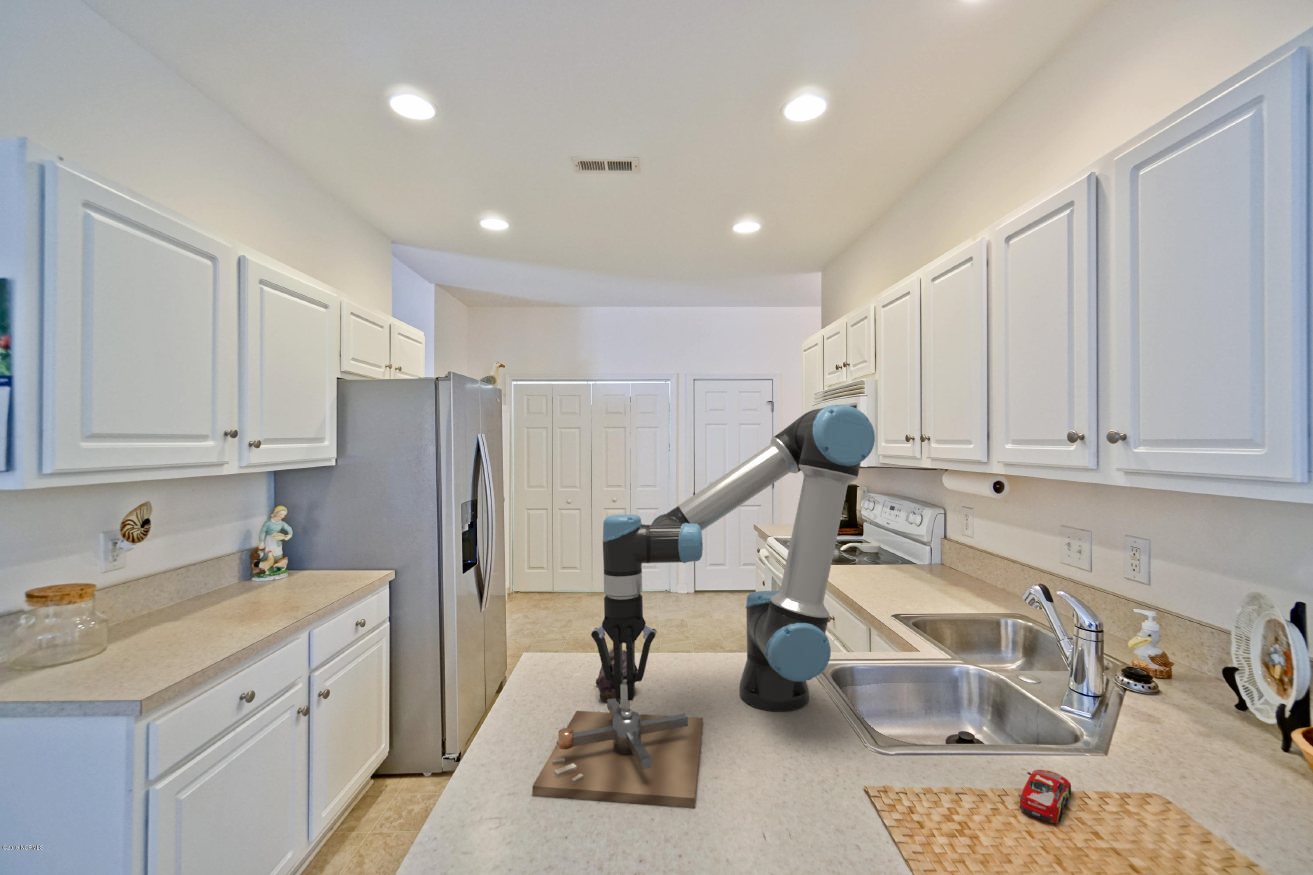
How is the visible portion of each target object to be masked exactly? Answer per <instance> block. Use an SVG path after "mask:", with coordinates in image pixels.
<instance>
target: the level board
mask: <svg viewBox="0 0 1313 875" xmlns="http://www.w3.org/2000/svg"><path fill="white" fill-rule="evenodd" d="M639 714H640V716H641V721H644V720H650V719H656V718H662V717H668V716H669V715H661V714H660V715H659V714H658V715H657V714H641V713H639ZM687 717H688V726H686V727H680V728H675V729H669V730H663V731H658V732H652V733H647V734H641V742H642V744H643V745H644V747H645V749H646V750H647V752H648V753H649V755H650V757H651V768H649V769H644V770H642V769H641V768H640V766H639V764H638V762H637V760H636V758H635V757H634V755H629V756H623V755H619V754H617V753H615V752H614V750H613V740H608V741H602V742H596V743H591V744H585V745H580V746H574V747H572V748H570V749H560V748H559V740H558V739H557V740H556V745H555V747H554V749H553V751H551V754H550V755H549V757H548V759H547V760H546V761H545V764H544V766H543V767H542V768H541V771H540V772H539V774H538V776H537V777H536V779H535V781H534V782H533V784H532V786H531V788H532V789H531V793H532V796H535V797H537V796H538V797H549V798H550V797H551V798H562V799H572V800H573V799H574V800H575V799H576V800H588V801H589V800H590V801H600V802H601V801H602V802H611V803H612V802H615V803H627V804H640V805H652V806H667V807H676V808H677V807H679V808H692V809H695V808H696V799H697V787H698V778H699V768H700V759H701V748H702V739H703V728H704V717H693V716H687ZM609 726H613V717H612V715H611V713H610V712H606V711H588V710H587V711H586V710H575V713H574V715H573V716H572V718H571V719H570V721H569V723H568V724H567V726H566V728H571V729H573V730H574V732H580V731H586V730H592V729H597V728H603V727H609Z"/></svg>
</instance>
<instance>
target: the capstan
mask: <svg viewBox="0 0 1313 875" xmlns="http://www.w3.org/2000/svg"><path fill="white" fill-rule="evenodd" d="M606 702H607V703H606V704H607V707H606V708H607V710H608V711H609V712H608V713H611V715H612V717H613V726H609V727H603V728H597V729H592V730H586V731H580V732H574V730H573V729H571V728H567V727H563V728H561V729H559V730H558V731H557V732H558V739H557V740H559V748H560V749H570V748H572V747H574V746H580V745H585V744H591V743H596V742H602V741H608V740H613V750H614V752H615V753H617V754H619V755H623V756H629V755H634V757H635V758H636V760H637V762H638V764H639V766H640V768H641V769H642V770H644V769H649V768H651V757H650V755H649V753H648V752H647V750H646V749H645V747H644V745H643V744H642V742H641V734H647V733H652V732H658V731H663V730H669V729H675V728H680V727H686V726H688V717H689V716H688V715H686V713H680V714H673V715H667V716H668V717H662V718H656V719H650V720H644V721H641V716H640V714H641V713H638V712H637V711H633V710H632V709H631V708H630V709H624V710H622V709H621V705H620V704H619V702H618V700H616V699H615V698H614V699H608V700H607V701H606Z"/></svg>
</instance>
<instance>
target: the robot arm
mask: <svg viewBox="0 0 1313 875" xmlns="http://www.w3.org/2000/svg"><path fill="white" fill-rule="evenodd" d="M875 442H876V435H875V429H874V426H873V424H872V422H871V421H870V419H869V417H868V416H867V415H866V414H865V413H864V412H862V411H861V410H860V409H857V408H856V407H853V406H850V405H838V404H833V405H828V406H826V407H824V408H823V407H822V408H817V409H816V408H815V409H813V410H810V411H808V412H806V413H804V414H802V415H801V416H799V417H798V418H797V419H796V420H794V421H793V422H792V423H791V424H789V425H788V426H786V427H785V428H784V429H783V430H781V431H780V432H778V433H777V434H775V435H773V437H771V439H770V444H769V445H768V446H766V447H765V448H763V449H762V450H759V451H758V452H757V453H756V454H753V455H752V456H751V457H749V458H748V459H746V460H744V461H743V462H741V463H740V464H739V465H737V466H736V467H734V468H732V469H730V470H729V471H728V472H727V473H725V474H724V475H722V476H721V477H719V478H718V479H715V481H713V482H712V483H710V484H708V485H707V486H706V487H703V489H701V490H699V491H698V492H697V493H695V494H694V495H692V496H691V497H689V498H687V499H686V500H684V501H682V503H680V504H678V505H677V506H676V507H675V508H672V509H671V510H670V511H668V512H667V513H663V514H660V515H658V516H656V517H655V518H654V519H653V520H652V522H651V524H646V523H645V524H643V522H642V520H641V519H642V518H641V516H640V515H637V514H627V513H626V514H621V513H620V514H612V515H609V516H608V515H607V517H605V518H604V520H603V525H602V526H603V527H602V528H603V529H602V531H603V532H602V555H603V556H602V557H603V593H604V594H605V596H604V598H603V602H604V603H603V612H604V613H603V614H604V616H603V620H602V622H601V625H600V626H598V627H595V628H594V629H593V630H592V632H591V633H590V635H591V638H592V639H593V641H594V642H595V644H596V646H597V650H598V654H599V659H600V662H601V666H602V667H603V670H604V674H605V678H606V680H607V681H613V682H614V683H615V697H616V701H620V707H621V709H622V710H624V709H630V710H631V701H634V698H635V696H636V684H635V683H637V682H638V683H639V682H641V681H643V678H644V675H645V671H646V666H647V662H648V658H649V653H650V649H651V644H652V642H653V641H654V639H655V637H656V635H657V633H658V632H657V630H656V629H655V628H651V627H649V626H648V625H646V624H647V623H646V620H645V619H644V616H643V614H644V612H643V611H644V609H643V608H644V607H643V606H644V604H643V595H642V594H641V593H642V592H643V573H642V572H643V569H642V566H643V564H663V563H664V564H667V563H672V564H673V563H682V564H686V563H691V562H699V561H700V560H701V559H702V556H703V550H704V545H703V532H702V531H704V530H706V529H707V528H709V527H710V526H712V525H713V524H714V523H716V522H718V521H719V520H721V519H722V518H724V517H725V516H727V515H728V514H729V513H731V512H733V511H735V510H736V509H737V508H739V507H740V506H741V505H743V504H745V503H746V502H748V501H749V500H751V499H752V498H754V497H755V496H757V495H758V494H760V493H761V492H762V491H764V490H766V489H767V488H769V487H770V486H771V485H773V484H774V483H776V482H777V481H779V480H781V479H782V478H784V477H785V476H786V475H788V474H790V473H791V474H798V473H800V472H801V473H802V474H803V479H802V486H801V489H800V494H799V498H798V499H799V500H798V502H797V509H796V513H795V518H794V522H793V528H792V532H791V537H790V541H789V547H788V552H787V557H786V560H785V561H786V562H785V567H784V571H783V576H782V579H781V580H782V581H781V585H780V589H779V590H761V591H760V590H759V591H758V590H757V591H753V592H750V593H749V594H748V595H747V596H746V605H745V610H746V660H745V661H746V662H745V665H744V668H743V672H742V674H741V677H740V678H741V679H740V680H739V697H740V699H741V700H742V701H743V702H745V703H746V704H747V705H749V706H752V707H754V708H758V709H760V710H765V711H770V712H771V711H772V712H789V711H795V710H798V709H801V708H804V707H805V706H806V705H807V704H808V703H809V700H810V697H809V696H810V694H809V693H810V690H809V686H808V682H807V681H811V680H813V678H816V677H817V676H819V675H821V674H822V673H823V672H824V671H825V669H826V668H827V666H828V664H829V663H830V659H831V655H832V654H831V652H832V651H831V648H832V647H831V644H830V641H829V638H828V636H827V635H826V633H827V627H828V622H829V618H830V613H829V611H828V609H827V608H826V606H825V603H824V602H825V601H824V600H825V596H826V591H827V586H828V582H829V578H830V572H831V567H832V562H833V558H834V554H835V549H836V548H835V547H836V543H837V538H838V533H839V529H840V523H841V519H842V515H843V510H844V505H845V501H846V495H847V489H848V486H849V485H850V484H851V483H853V482H854V481H856V480H858V477H859V473H860V468H861V464H862V462H864V461H865V460H866V459H867V458H868V457H869V455H870V454H871V453H872V451H873V450H874V447H875ZM642 632H643V636H642V637H643V639H644V642H643V645H642V650H641V653H640V658H639V664H638V666H637V669H638V671H637V673H635V665H636V658H635V654H636V652H635V649H636V647H635V646H636V645H635V644H636V640H638V638H639V636H640V635H641V633H642ZM606 634H607V636H608V637H609V638H610V640H611V641H612V649H614V671H613V667H612V663H611V659H610V655H609V649H608V645H607V641H606V638H605V636H606ZM623 644H625V651H626V654H627V680H623V676H624V675H623V659H622V650H623Z"/></svg>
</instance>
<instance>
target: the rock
mask: <svg viewBox="0 0 1313 875" xmlns="http://www.w3.org/2000/svg"><path fill="white" fill-rule="evenodd" d="M608 652H609V655H610V659H611V663H612V667H613V671H614V649H613V648H612V649H608ZM622 659H623V675H624V676H623V680H627V654H626V649H624V650H623V649H622ZM637 671H638V666H637V664H635V673H637ZM595 684H596V685H597V686H598V689H599V699H600V700H602V701H604V702H607V700H608V699H614V698H615V699H616V697H615V683H614V682H613V681H607V680H606V678H605V674H604V670H603V667H602V665H601V667H600V669H599V673H598V677H597V678H596V680H595Z"/></svg>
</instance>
